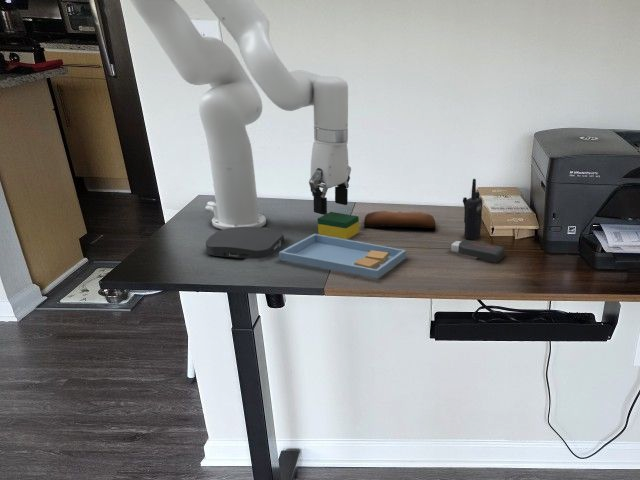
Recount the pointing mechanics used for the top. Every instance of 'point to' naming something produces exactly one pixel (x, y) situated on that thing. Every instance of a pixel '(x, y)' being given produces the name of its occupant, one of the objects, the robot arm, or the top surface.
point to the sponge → (338, 225)
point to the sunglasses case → (399, 219)
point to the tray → (340, 255)
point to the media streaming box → (245, 242)
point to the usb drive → (479, 250)
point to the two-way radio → (472, 214)
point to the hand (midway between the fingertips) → (331, 208)
